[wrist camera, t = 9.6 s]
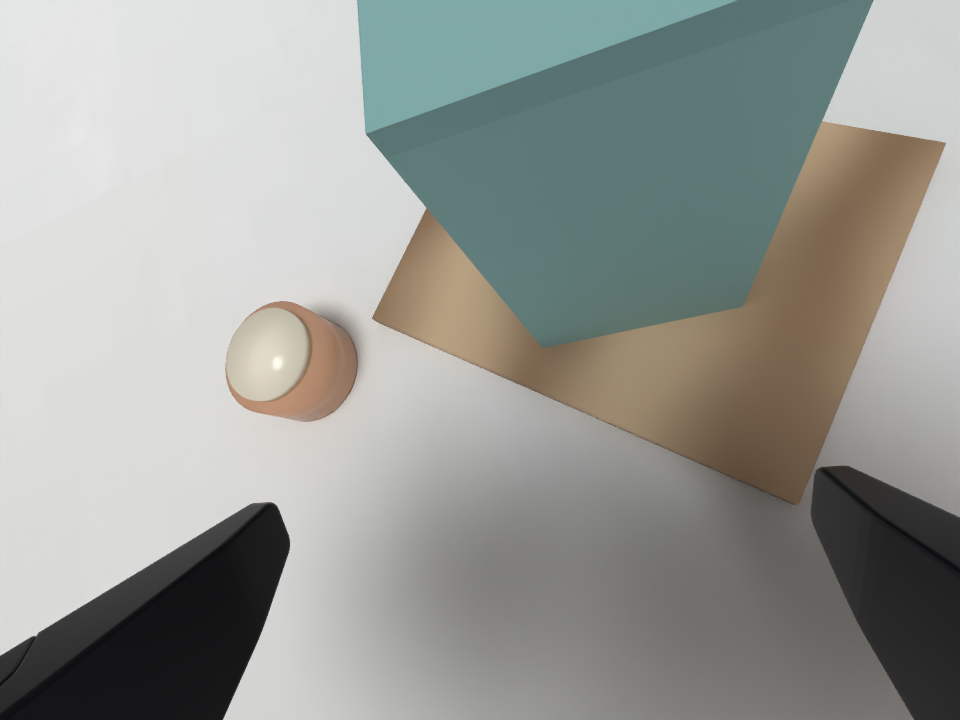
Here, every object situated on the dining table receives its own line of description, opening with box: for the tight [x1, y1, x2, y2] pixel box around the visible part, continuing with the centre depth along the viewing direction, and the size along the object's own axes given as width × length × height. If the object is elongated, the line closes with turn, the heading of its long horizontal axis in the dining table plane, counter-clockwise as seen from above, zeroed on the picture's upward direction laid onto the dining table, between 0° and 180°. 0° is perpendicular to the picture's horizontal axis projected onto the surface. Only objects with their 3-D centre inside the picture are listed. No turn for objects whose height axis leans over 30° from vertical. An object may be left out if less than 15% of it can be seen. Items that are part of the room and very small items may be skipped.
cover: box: [357, 0, 873, 348], centre depth 13 cm, size 7×7×12 cm
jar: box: [226, 301, 357, 422], centre depth 21 cm, size 4×4×3 cm
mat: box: [372, 122, 946, 505], centre depth 19 cm, size 16×12×1 cm
